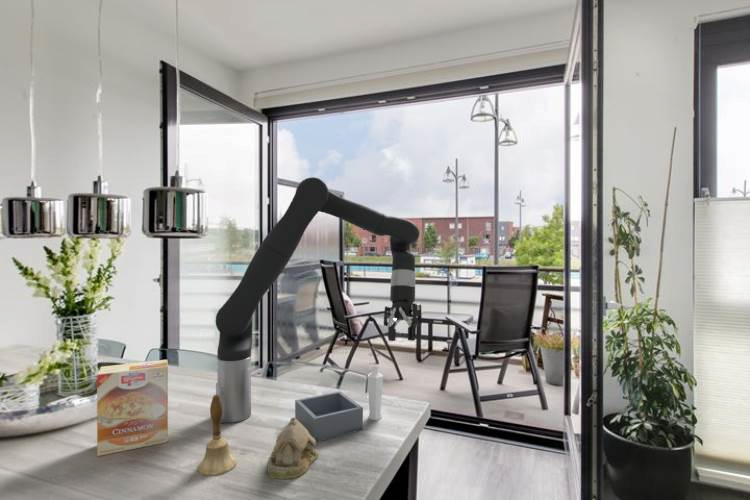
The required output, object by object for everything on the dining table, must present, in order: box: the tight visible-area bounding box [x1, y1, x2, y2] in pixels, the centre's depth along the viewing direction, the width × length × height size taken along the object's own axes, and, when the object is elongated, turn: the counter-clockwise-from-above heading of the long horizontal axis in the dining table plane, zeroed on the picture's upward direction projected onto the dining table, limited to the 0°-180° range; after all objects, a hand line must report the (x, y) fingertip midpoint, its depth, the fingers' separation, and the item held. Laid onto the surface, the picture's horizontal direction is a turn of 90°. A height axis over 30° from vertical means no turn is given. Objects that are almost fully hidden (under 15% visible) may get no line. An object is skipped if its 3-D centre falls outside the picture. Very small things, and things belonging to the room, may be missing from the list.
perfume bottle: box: [367, 364, 384, 421], centre depth 119 cm, size 5×4×15 cm
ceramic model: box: [267, 416, 320, 480], centre depth 95 cm, size 14×11×10 cm
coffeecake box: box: [96, 359, 169, 457], centre depth 102 cm, size 15×7×20 cm, turn 117°
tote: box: [294, 390, 364, 443], centre depth 113 cm, size 14×14×6 cm
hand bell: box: [197, 394, 238, 477], centre depth 93 cm, size 8×8×16 cm
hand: (401, 340), depth 121 cm, fingers open, 8 cm apart
